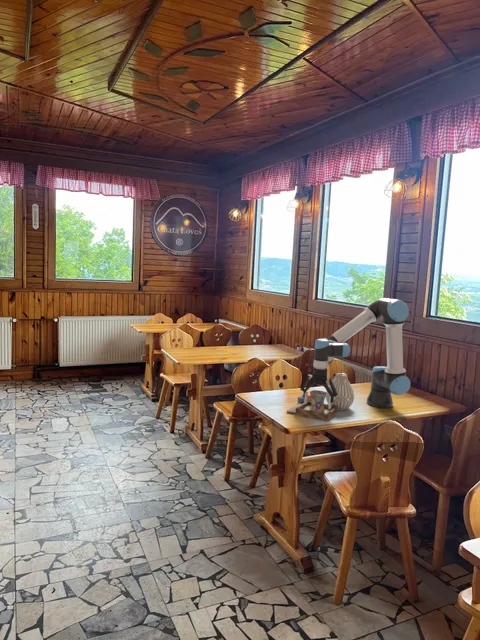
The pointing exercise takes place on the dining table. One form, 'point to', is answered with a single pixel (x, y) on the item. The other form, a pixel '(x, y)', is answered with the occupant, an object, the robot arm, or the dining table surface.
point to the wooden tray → (304, 411)
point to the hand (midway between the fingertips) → (317, 406)
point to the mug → (317, 400)
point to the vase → (342, 392)
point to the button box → (302, 399)
